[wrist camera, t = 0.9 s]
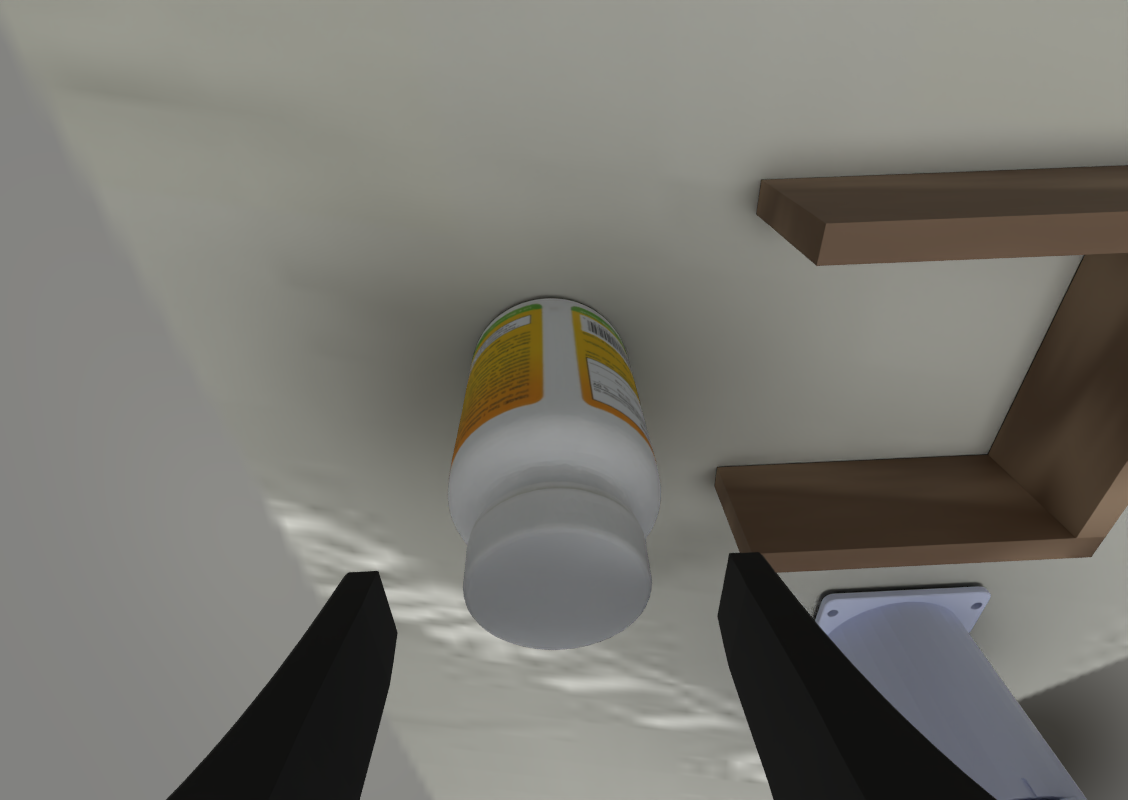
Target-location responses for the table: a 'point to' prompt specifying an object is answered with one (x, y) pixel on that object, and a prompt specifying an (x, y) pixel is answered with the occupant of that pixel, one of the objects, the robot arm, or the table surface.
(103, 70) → the table surface
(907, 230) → the walnut stall
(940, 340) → the table surface
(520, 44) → the table surface
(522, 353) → the supplement bottle
